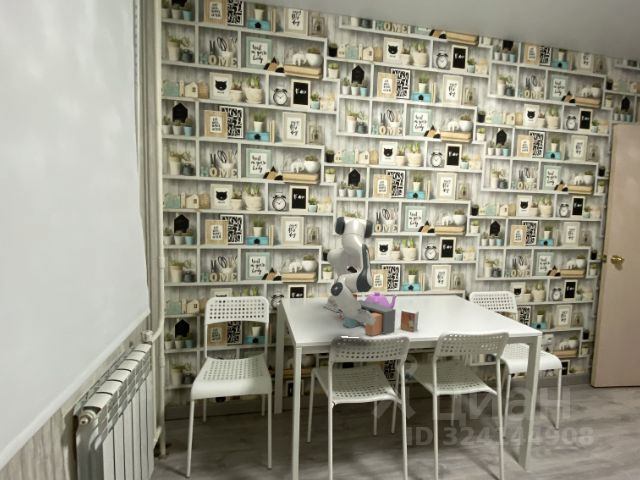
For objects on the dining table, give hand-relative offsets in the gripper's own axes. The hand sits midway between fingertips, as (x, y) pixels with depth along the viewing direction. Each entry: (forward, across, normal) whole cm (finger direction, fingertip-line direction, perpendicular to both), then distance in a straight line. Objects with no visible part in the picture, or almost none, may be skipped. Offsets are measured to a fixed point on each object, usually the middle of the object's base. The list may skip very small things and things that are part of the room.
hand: (364, 323), depth 209 cm
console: (+15, +8, -6) cm, 18 cm away
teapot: (+32, +22, -22) cm, 45 cm away
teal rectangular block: (+10, +16, -1) cm, 19 cm away
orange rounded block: (+10, 0, -1) cm, 11 cm away
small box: (+25, -7, -15) cm, 30 cm away
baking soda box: (+16, +27, -6) cm, 32 cm away
